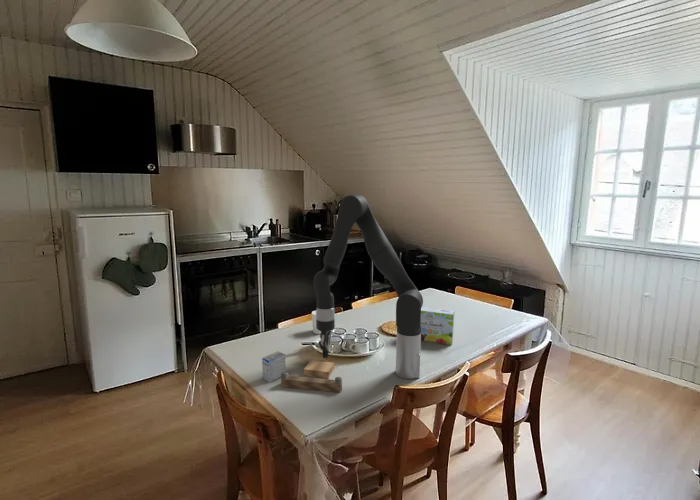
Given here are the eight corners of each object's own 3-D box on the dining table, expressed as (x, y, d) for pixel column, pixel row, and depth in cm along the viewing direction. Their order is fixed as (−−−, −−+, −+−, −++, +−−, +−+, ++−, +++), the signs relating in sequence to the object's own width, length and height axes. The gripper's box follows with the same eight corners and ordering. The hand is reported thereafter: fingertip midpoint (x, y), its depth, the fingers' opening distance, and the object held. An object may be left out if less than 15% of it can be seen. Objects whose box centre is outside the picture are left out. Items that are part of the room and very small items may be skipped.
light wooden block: (334, 369, 161) (334, 362, 161) (328, 379, 154) (328, 372, 153) (311, 366, 164) (310, 359, 163) (304, 376, 156) (303, 368, 156)
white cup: (331, 331, 199) (331, 312, 197) (319, 336, 194) (319, 316, 192) (320, 327, 205) (320, 308, 203) (308, 331, 199) (308, 312, 197)
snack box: (406, 339, 191) (406, 308, 188) (408, 334, 196) (409, 304, 193) (451, 345, 184) (453, 314, 181) (453, 341, 189) (455, 310, 186)
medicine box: (278, 371, 159) (277, 350, 157) (286, 374, 156) (285, 353, 155) (262, 379, 153) (261, 357, 151) (270, 382, 150) (269, 361, 149)
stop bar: (342, 388, 147) (342, 376, 146) (340, 392, 144) (340, 380, 143) (283, 382, 150) (283, 371, 150) (280, 386, 148) (280, 375, 147)
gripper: (330, 323, 158) (330, 365, 161) (337, 312, 171) (337, 351, 174) (312, 322, 159) (312, 363, 162) (320, 311, 172) (320, 349, 175)
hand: (325, 357), depth 168 cm, fingers closed
